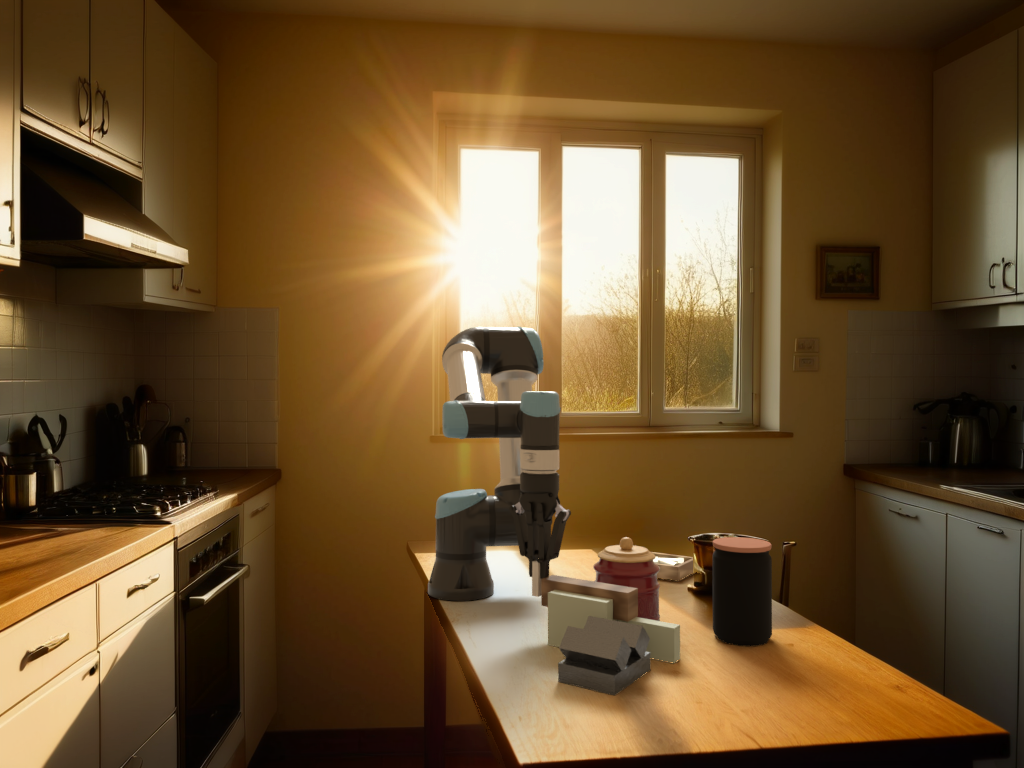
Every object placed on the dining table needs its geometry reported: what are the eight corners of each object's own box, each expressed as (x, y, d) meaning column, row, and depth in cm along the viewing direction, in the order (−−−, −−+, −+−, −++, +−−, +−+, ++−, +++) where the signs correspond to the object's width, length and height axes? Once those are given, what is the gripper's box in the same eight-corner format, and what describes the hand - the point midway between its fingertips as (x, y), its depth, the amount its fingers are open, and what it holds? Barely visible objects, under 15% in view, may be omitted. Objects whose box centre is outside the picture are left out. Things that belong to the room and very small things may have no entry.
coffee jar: (772, 632, 150) (772, 538, 150) (771, 650, 140) (771, 549, 140) (715, 627, 153) (714, 535, 154) (710, 643, 143) (710, 545, 143)
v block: (558, 681, 124) (558, 630, 125) (597, 658, 135) (597, 611, 135) (614, 695, 119) (614, 641, 119) (650, 670, 130) (650, 621, 130)
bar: (541, 605, 147) (541, 578, 147) (552, 600, 150) (552, 574, 150) (627, 621, 137) (627, 593, 137) (637, 616, 140) (637, 588, 140)
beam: (547, 644, 143) (547, 592, 143) (575, 630, 151) (575, 581, 151) (665, 670, 130) (665, 612, 130) (688, 653, 138) (688, 599, 138)
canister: (618, 641, 145) (618, 546, 145) (580, 622, 156) (580, 534, 156) (673, 631, 151) (673, 539, 151) (633, 614, 162) (633, 529, 162)
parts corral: (626, 573, 198) (626, 560, 198) (647, 564, 209) (647, 551, 209) (678, 581, 190) (678, 567, 190) (697, 571, 201) (697, 557, 201)
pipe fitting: (683, 578, 196) (684, 570, 202) (683, 563, 196) (683, 555, 202) (651, 577, 198) (652, 569, 204) (651, 562, 197) (652, 554, 204)
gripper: (501, 470, 150) (500, 593, 150) (558, 475, 143) (557, 604, 143) (522, 468, 157) (522, 586, 156) (578, 472, 149) (578, 596, 149)
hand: (538, 594), depth 149 cm, fingers closed
